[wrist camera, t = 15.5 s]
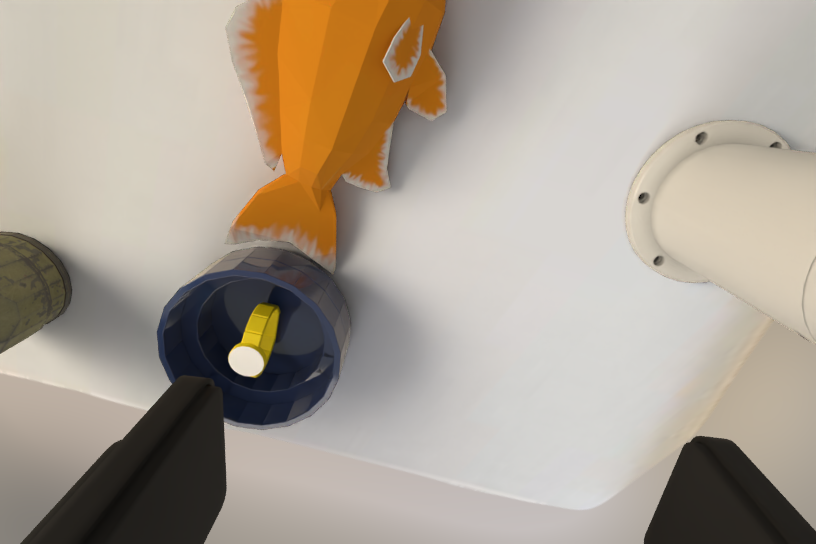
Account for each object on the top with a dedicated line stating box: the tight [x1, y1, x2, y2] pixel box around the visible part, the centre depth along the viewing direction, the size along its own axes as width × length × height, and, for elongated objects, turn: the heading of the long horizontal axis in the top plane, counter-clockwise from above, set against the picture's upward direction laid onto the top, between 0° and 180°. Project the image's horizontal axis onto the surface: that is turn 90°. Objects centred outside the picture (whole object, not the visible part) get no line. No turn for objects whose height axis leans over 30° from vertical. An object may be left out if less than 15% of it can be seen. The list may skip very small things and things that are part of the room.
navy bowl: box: [157, 247, 351, 430], centre depth 37 cm, size 14×14×6 cm
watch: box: [228, 302, 280, 378], centre depth 36 cm, size 6×3×6 cm, turn 165°
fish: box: [225, 0, 447, 274], centre depth 30 cm, size 7×27×15 cm
